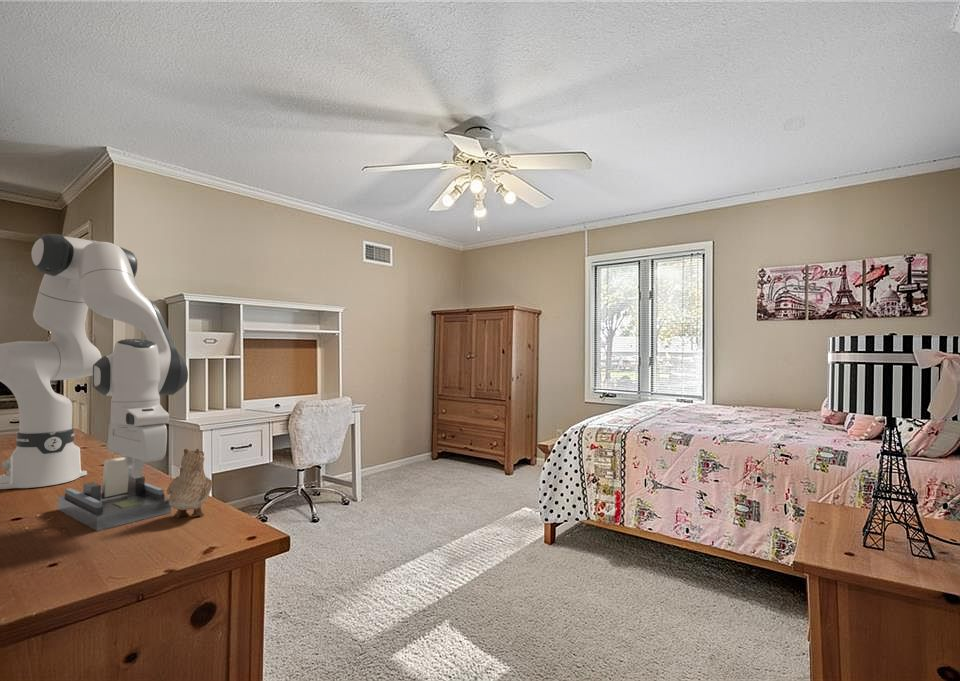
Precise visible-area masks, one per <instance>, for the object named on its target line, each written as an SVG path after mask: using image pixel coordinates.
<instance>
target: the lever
mask: <svg viewBox="0 0 960 681" xmlns="http://www.w3.org/2000/svg"><path fill="white" fill-rule="evenodd" d="M102 473H103V474H102V484H101V488H102V493H101V499H106V498H111V497H116V496H120V495H125V494H128V479H129V476H128V475H127V466H126V463H125V457H124V456H123V457H118V458H117V457H116V458H113V459H110V458H109V459H104V461H103V472H102Z"/></svg>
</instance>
